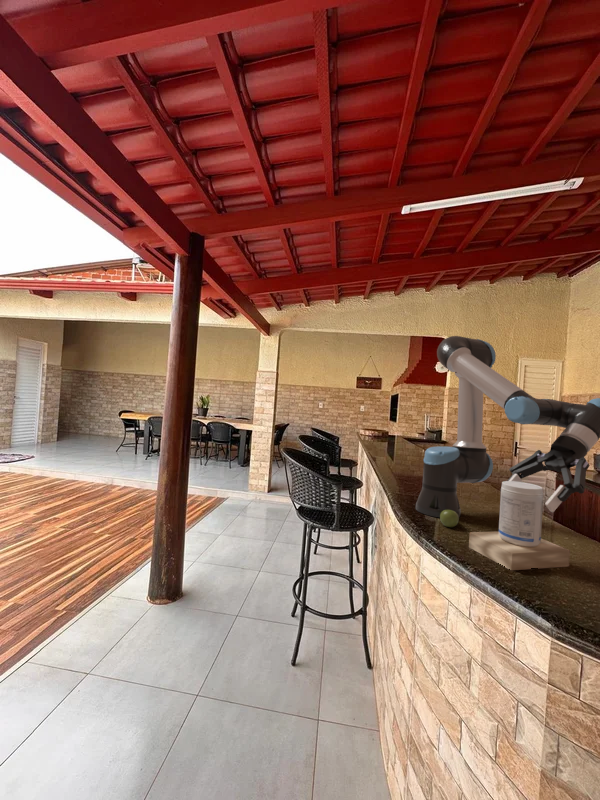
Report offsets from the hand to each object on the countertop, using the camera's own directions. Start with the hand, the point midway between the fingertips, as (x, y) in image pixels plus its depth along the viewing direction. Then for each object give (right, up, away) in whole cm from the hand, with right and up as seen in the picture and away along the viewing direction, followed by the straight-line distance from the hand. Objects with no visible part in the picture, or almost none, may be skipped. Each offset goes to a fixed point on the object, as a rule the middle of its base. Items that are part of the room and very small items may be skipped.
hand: (524, 500), depth 97 cm
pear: (-10, -15, +24) cm, 30 cm away
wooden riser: (-2, -15, 0) cm, 15 cm away
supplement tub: (-2, -11, 0) cm, 11 cm away
